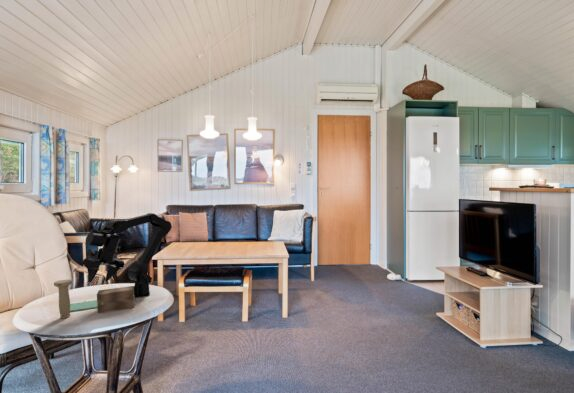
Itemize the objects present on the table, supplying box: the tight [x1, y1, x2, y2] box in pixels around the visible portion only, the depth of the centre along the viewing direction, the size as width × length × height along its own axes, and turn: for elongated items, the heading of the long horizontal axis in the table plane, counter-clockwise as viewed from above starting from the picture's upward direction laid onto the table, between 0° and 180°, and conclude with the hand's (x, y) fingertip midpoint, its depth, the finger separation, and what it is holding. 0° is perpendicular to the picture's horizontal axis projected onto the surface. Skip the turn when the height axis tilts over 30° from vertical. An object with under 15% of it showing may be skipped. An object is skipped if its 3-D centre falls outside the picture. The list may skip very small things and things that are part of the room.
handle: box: [53, 279, 73, 319], centre depth 144 cm, size 5×6×15 cm
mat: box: [70, 299, 98, 313], centre depth 156 cm, size 14×10×1 cm
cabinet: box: [96, 285, 135, 314], centre depth 152 cm, size 14×8×8 cm, turn 111°
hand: (98, 281), depth 156 cm, fingers open, 9 cm apart
